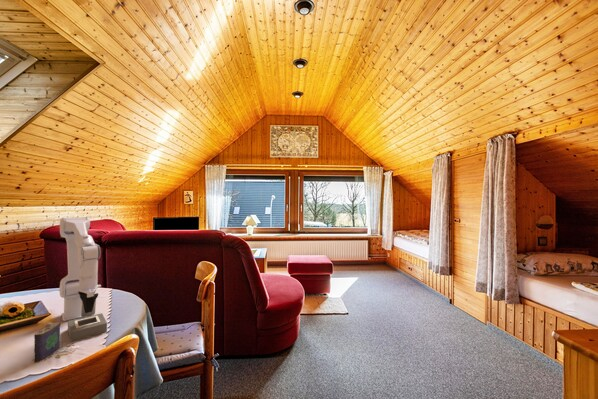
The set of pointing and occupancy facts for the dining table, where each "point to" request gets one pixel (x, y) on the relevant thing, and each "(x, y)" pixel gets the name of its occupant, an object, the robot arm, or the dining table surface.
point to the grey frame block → (86, 327)
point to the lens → (88, 312)
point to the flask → (47, 341)
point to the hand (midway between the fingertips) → (87, 310)
